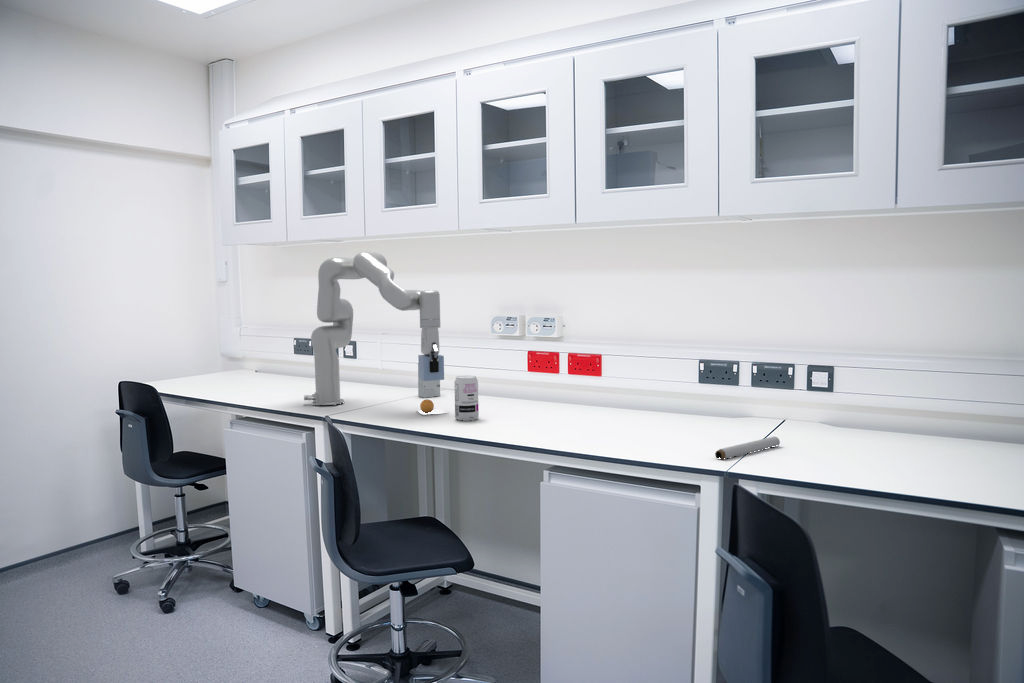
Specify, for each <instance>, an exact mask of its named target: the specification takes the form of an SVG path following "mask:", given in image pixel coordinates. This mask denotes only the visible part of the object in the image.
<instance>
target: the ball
mask: <svg viewBox="0 0 1024 683" xmlns="http://www.w3.org/2000/svg"><path fill="white" fill-rule="evenodd" d="M419 407H420V410H422V411H423V412H425V413H428V412H431V411H432V410H433V409H435V406H434V402H433V401H432V400H430V399H426V398H425V399H424V400H422V401H421V402H420V406H419Z"/></svg>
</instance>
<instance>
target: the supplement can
mask: <svg viewBox="0 0 1024 683" xmlns="http://www.w3.org/2000/svg"><path fill="white" fill-rule="evenodd" d="M454 418H455V419H456V420H457V419H458V420H457V421H459V420H463V421H462V422H471V421H470V420H473V421H476V420H477V419H478V418H479V380H478V378H477V376H475V375H458V376H456V377H455V380H454Z"/></svg>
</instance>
